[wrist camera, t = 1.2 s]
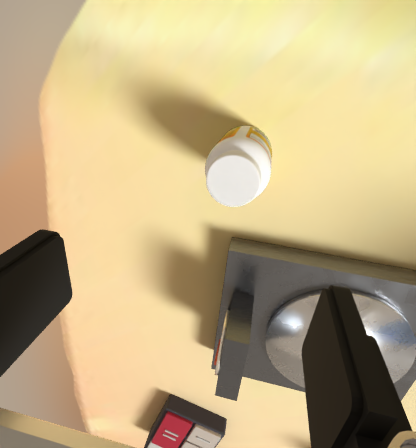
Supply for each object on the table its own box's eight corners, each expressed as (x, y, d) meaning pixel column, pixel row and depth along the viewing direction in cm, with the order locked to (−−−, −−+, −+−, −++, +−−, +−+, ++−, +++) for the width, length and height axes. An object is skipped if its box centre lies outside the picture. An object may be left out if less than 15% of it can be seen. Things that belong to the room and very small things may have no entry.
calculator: (225, 439, 47) (194, 478, 54) (228, 413, 51) (199, 452, 58) (164, 412, 47) (141, 454, 54) (172, 388, 51) (149, 430, 58)
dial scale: (455, 277, 30) (527, 357, 22) (384, 391, 40) (415, 480, 31) (232, 237, 34) (217, 291, 25) (215, 350, 43) (199, 419, 34)
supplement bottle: (218, 176, 31) (196, 212, 22) (219, 123, 28) (196, 142, 20) (268, 180, 30) (266, 219, 21) (275, 126, 27) (275, 146, 19)
